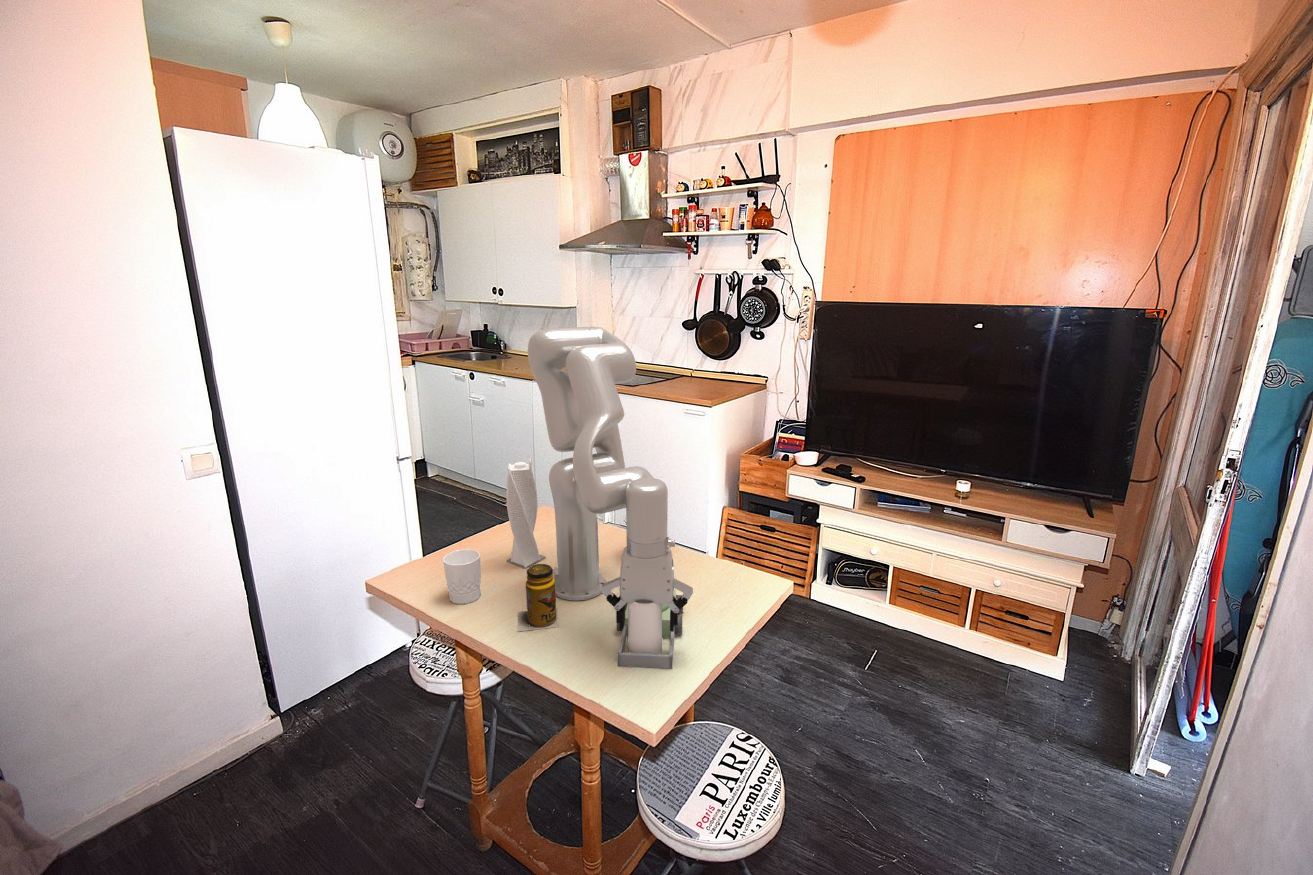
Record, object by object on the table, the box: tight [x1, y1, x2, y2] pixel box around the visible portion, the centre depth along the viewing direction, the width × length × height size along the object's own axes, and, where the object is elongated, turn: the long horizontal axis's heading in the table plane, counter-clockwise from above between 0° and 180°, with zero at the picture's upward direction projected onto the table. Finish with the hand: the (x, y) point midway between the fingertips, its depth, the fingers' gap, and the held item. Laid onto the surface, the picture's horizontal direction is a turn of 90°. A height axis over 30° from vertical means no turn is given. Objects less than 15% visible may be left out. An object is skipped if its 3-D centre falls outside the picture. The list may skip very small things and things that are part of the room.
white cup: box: [442, 548, 482, 605], centre depth 130 cm, size 8×8×10 cm
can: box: [627, 601, 663, 654], centre depth 110 cm, size 6×6×12 cm
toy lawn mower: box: [616, 589, 684, 670], centre depth 117 cm, size 13×22×5 cm, turn 176°
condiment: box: [517, 563, 560, 632], centre depth 121 cm, size 7×8×12 cm
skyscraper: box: [505, 457, 546, 570], centre depth 144 cm, size 8×8×28 cm
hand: (647, 626), depth 111 cm, fingers open, 9 cm apart
